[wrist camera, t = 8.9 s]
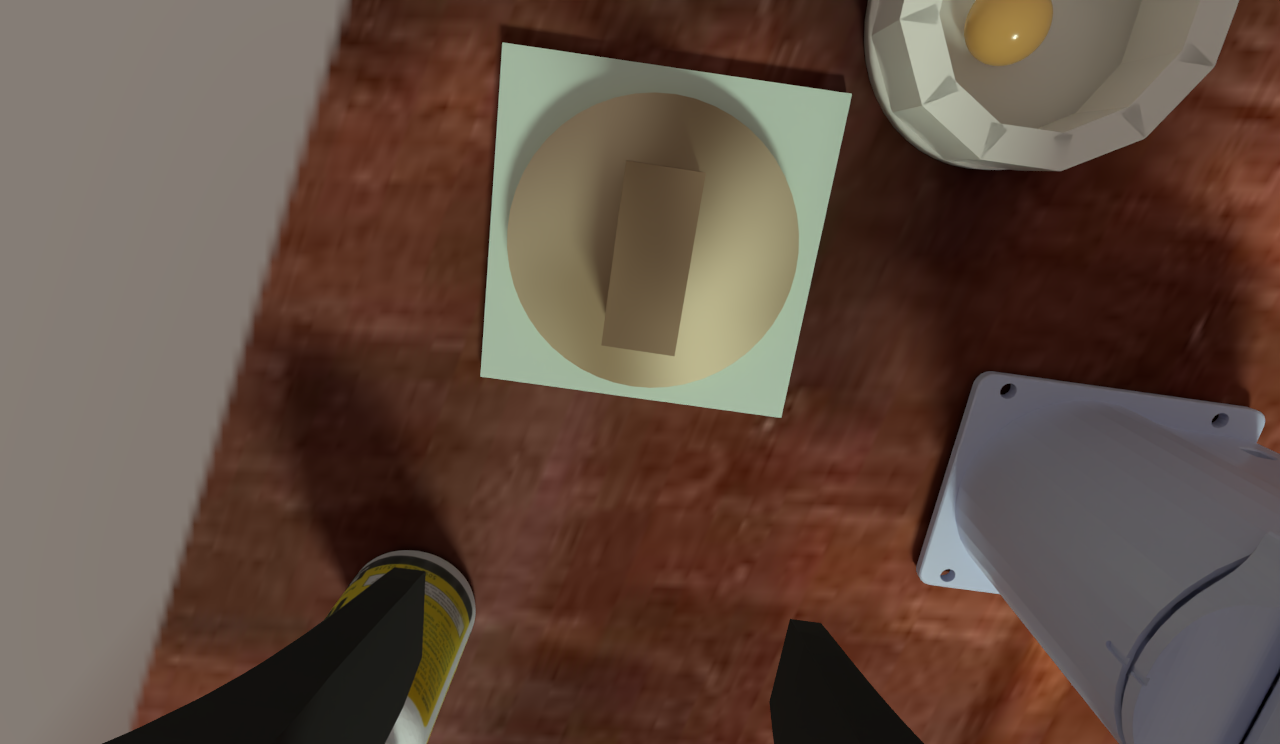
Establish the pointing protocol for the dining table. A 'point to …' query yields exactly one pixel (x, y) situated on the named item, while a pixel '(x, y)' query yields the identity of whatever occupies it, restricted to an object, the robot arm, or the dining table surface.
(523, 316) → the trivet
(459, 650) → the supplement bottle
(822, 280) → the dining table surface
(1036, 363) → the dining table surface
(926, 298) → the dining table surface
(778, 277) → the lid
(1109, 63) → the bowl
